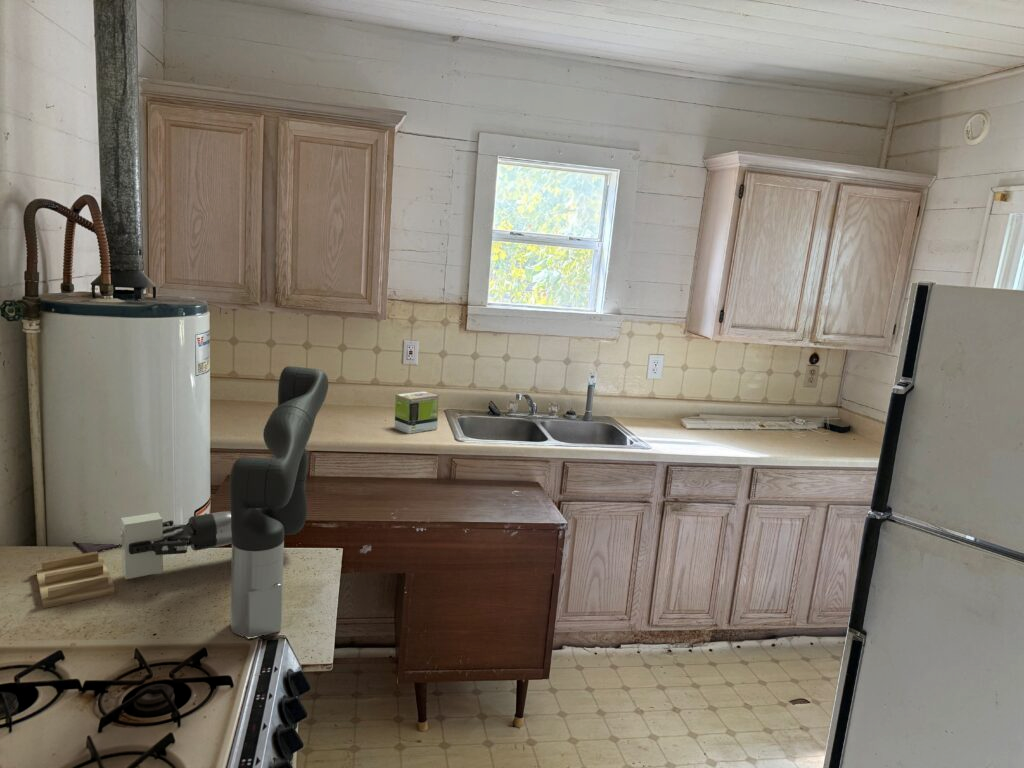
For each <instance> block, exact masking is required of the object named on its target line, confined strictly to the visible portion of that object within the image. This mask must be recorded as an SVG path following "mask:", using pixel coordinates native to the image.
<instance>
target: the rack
mask: <svg viewBox="0 0 1024 768" xmlns="http://www.w3.org/2000/svg"><path fill="white" fill-rule="evenodd" d="M36 575H37V576H36ZM35 576H36V580H38V581H37V585H38V590H39V595H40V599H41V604H42V609H47V608H48V609H49V608H51V607H56V606H61V605H66V604H71V603H75V602H80V601H85V600H89V599H94V598H99V597H103V596H110V595H113V594H116V586H115V584H114V582H113V580H112V578H111V575H110V572H109V570H108V567H107V565H106V563H105V560H104V557H103V556H99V553H98V552H97V551H96V552H90V553H85V552H84V553H80V554H73V555H68V556H67V555H66V556H62V557H61V556H60V557H56V558H51V559H43V560H41V567H38V568H35Z"/></svg>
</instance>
